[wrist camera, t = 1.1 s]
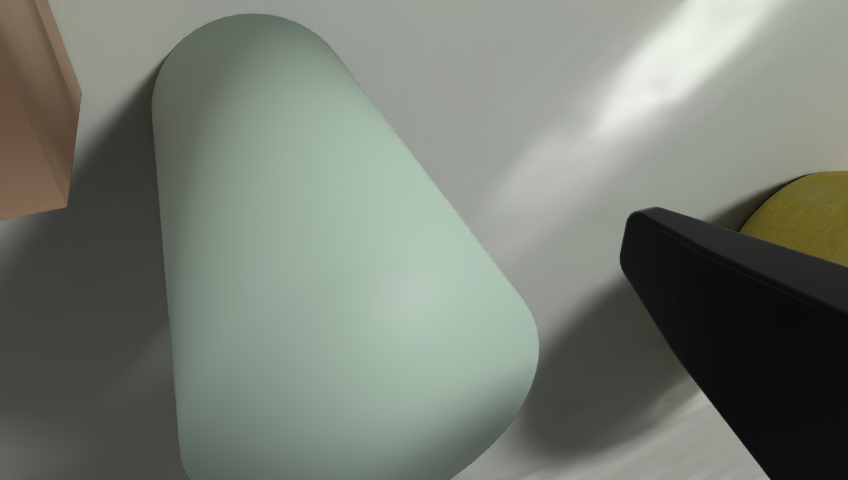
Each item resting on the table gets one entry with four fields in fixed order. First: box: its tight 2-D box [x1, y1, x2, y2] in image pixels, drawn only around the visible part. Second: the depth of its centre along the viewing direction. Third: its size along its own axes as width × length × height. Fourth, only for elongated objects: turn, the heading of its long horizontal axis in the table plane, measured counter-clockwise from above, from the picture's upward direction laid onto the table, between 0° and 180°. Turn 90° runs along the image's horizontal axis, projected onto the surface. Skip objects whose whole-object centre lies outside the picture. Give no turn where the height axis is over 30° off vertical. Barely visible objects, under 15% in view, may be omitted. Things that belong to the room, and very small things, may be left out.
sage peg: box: [151, 14, 539, 480], centre depth 10 cm, size 4×4×8 cm
